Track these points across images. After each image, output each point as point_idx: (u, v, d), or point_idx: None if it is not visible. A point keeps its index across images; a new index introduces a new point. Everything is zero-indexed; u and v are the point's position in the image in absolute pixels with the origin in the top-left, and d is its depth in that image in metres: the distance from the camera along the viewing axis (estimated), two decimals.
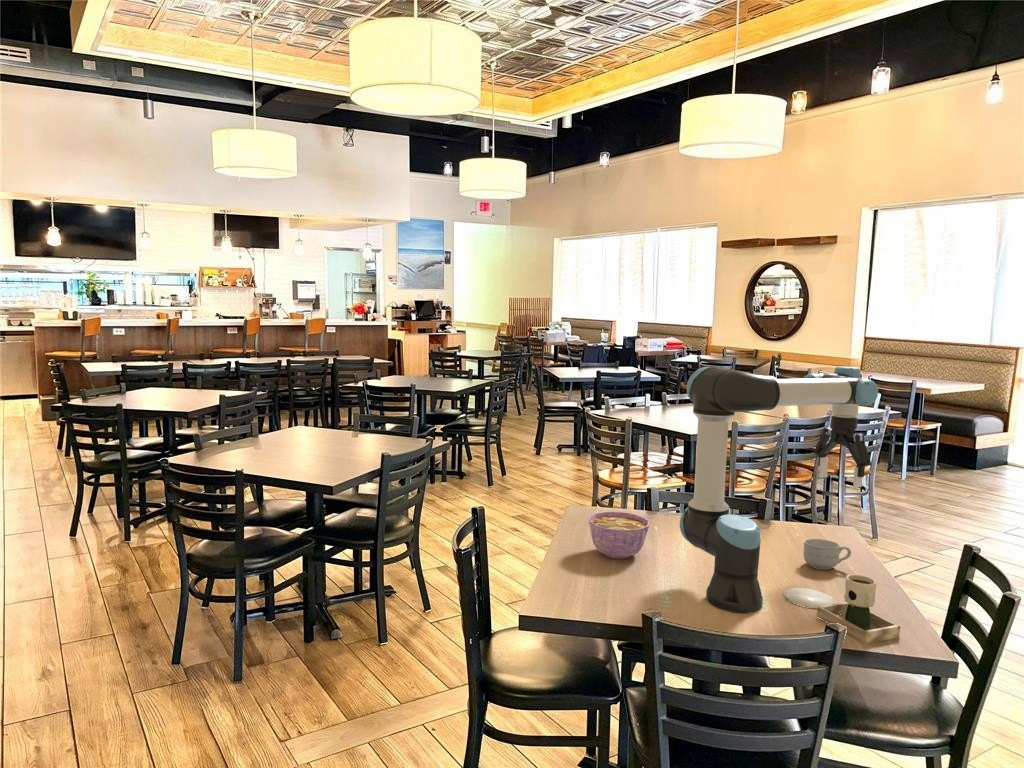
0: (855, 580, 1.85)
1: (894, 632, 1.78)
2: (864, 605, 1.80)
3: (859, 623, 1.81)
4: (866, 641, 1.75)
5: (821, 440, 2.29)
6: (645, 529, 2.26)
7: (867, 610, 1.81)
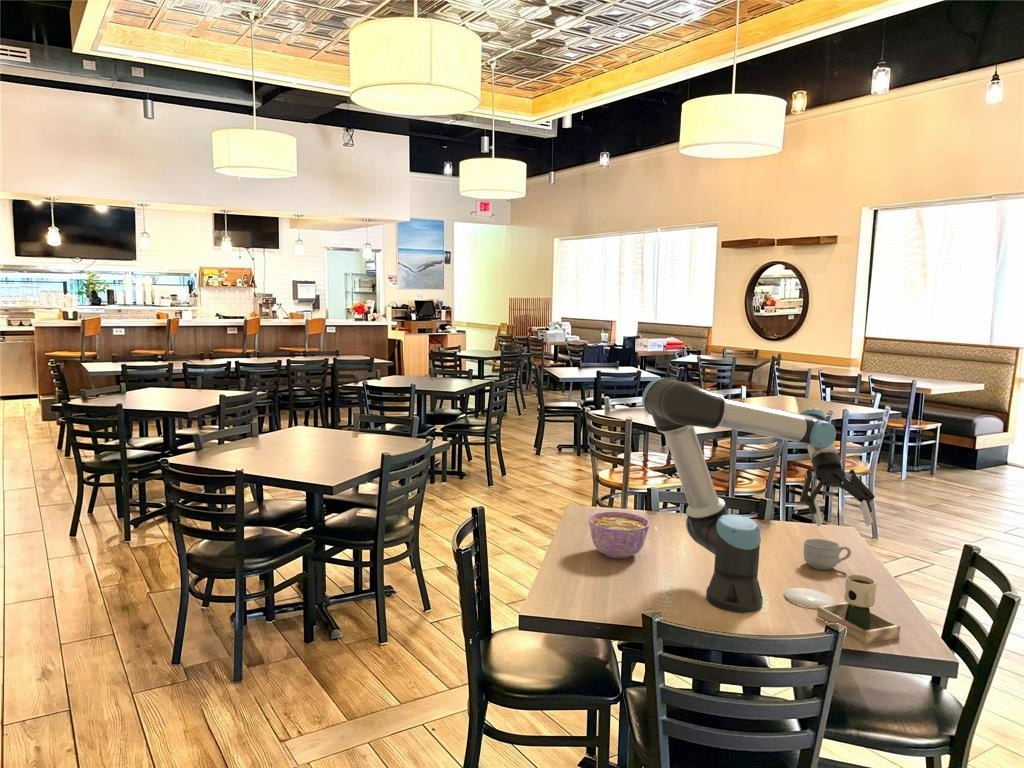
0: (855, 580, 1.85)
1: (894, 632, 1.78)
2: (864, 605, 1.80)
3: (859, 623, 1.81)
4: (866, 641, 1.75)
5: (808, 483, 2.00)
6: (645, 529, 2.26)
7: (867, 610, 1.81)
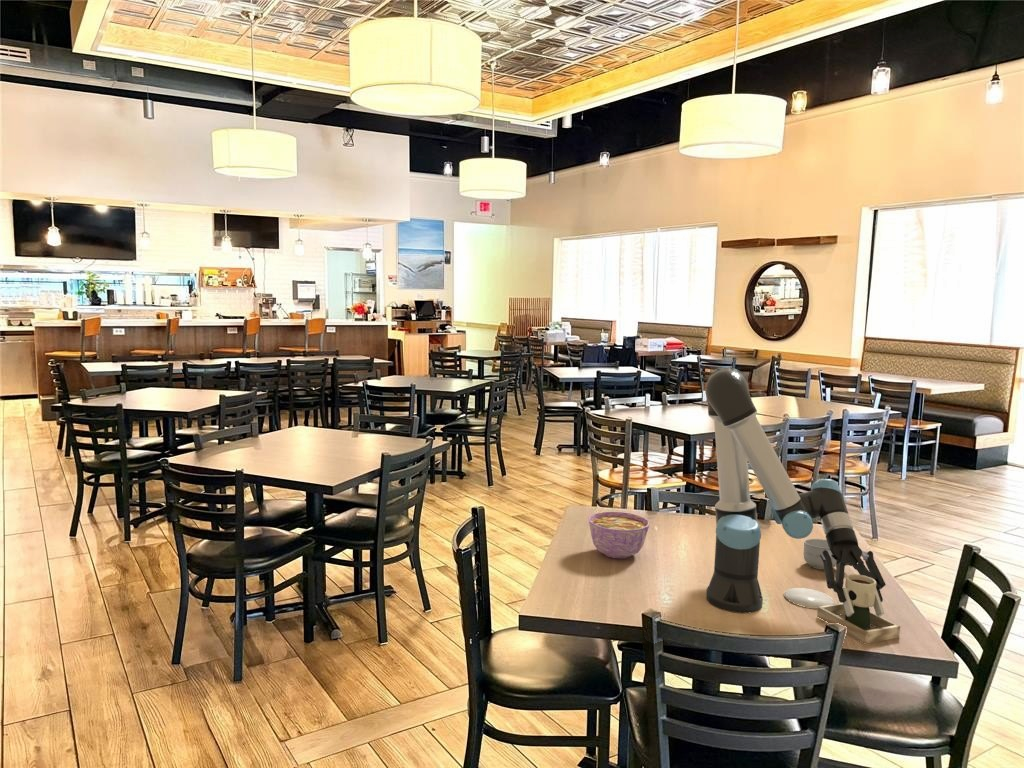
0: (855, 580, 1.85)
1: (894, 632, 1.78)
2: (864, 605, 1.80)
3: (859, 623, 1.81)
4: (866, 641, 1.75)
5: (830, 565, 1.87)
6: (645, 529, 2.26)
7: (867, 610, 1.81)
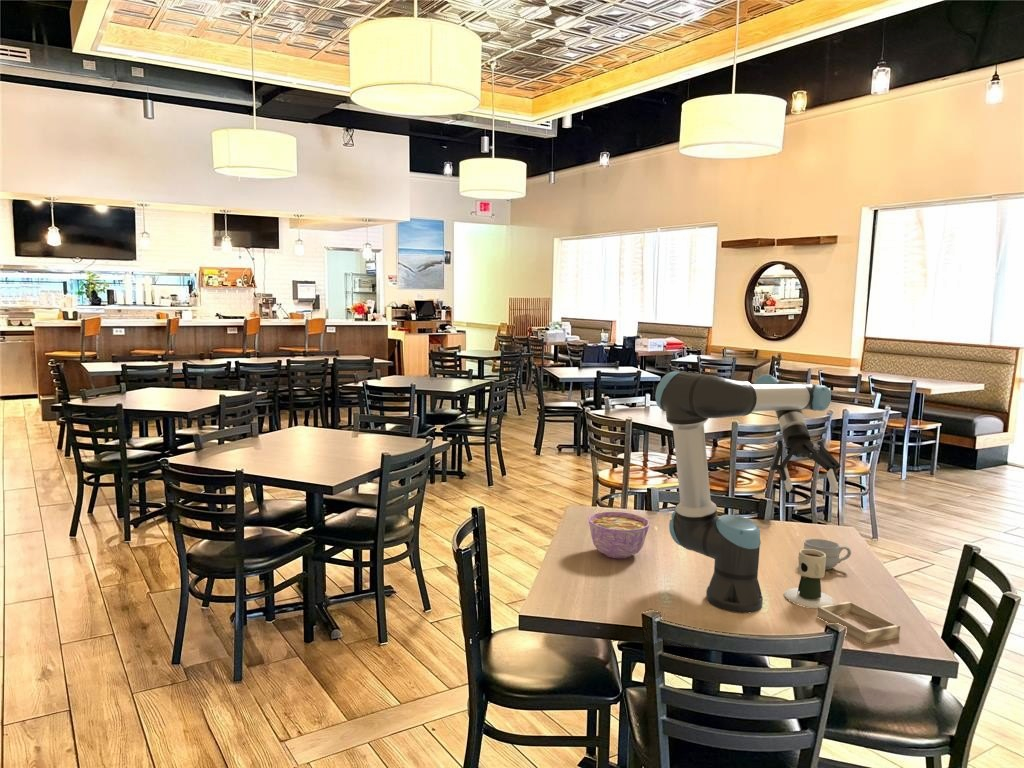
0: (808, 554, 2.02)
1: (894, 632, 1.78)
2: (814, 576, 1.97)
3: (810, 593, 1.98)
4: (866, 641, 1.75)
5: (779, 452, 2.12)
6: (645, 529, 2.26)
7: (818, 581, 1.98)
